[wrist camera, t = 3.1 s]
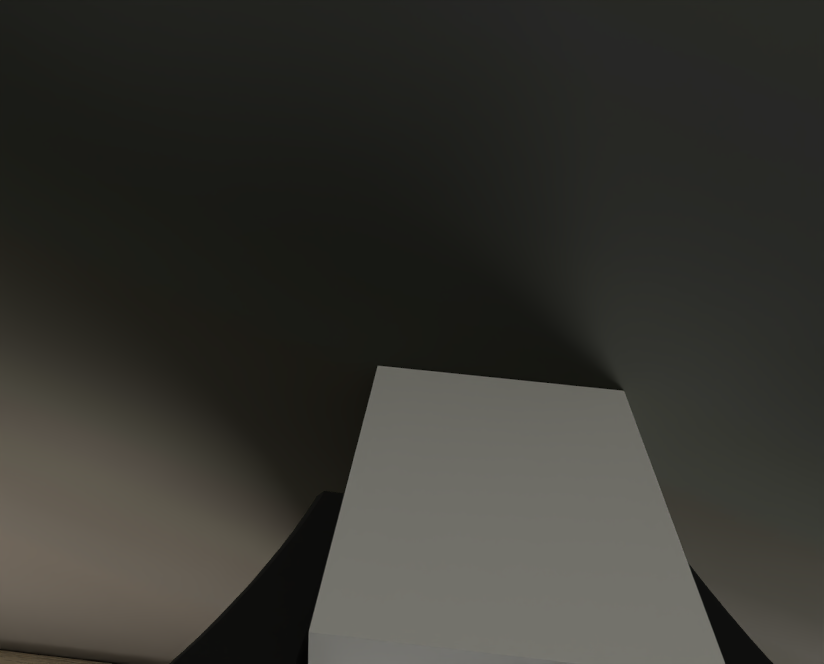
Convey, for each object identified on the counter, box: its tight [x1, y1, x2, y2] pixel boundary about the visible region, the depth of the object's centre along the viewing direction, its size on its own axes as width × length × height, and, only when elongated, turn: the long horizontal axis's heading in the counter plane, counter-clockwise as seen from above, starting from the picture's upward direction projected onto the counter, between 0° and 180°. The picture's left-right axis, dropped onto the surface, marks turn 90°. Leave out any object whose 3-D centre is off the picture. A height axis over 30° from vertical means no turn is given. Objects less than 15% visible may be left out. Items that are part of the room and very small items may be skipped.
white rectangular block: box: [308, 366, 725, 664], centre depth 10 cm, size 4×5×6 cm
